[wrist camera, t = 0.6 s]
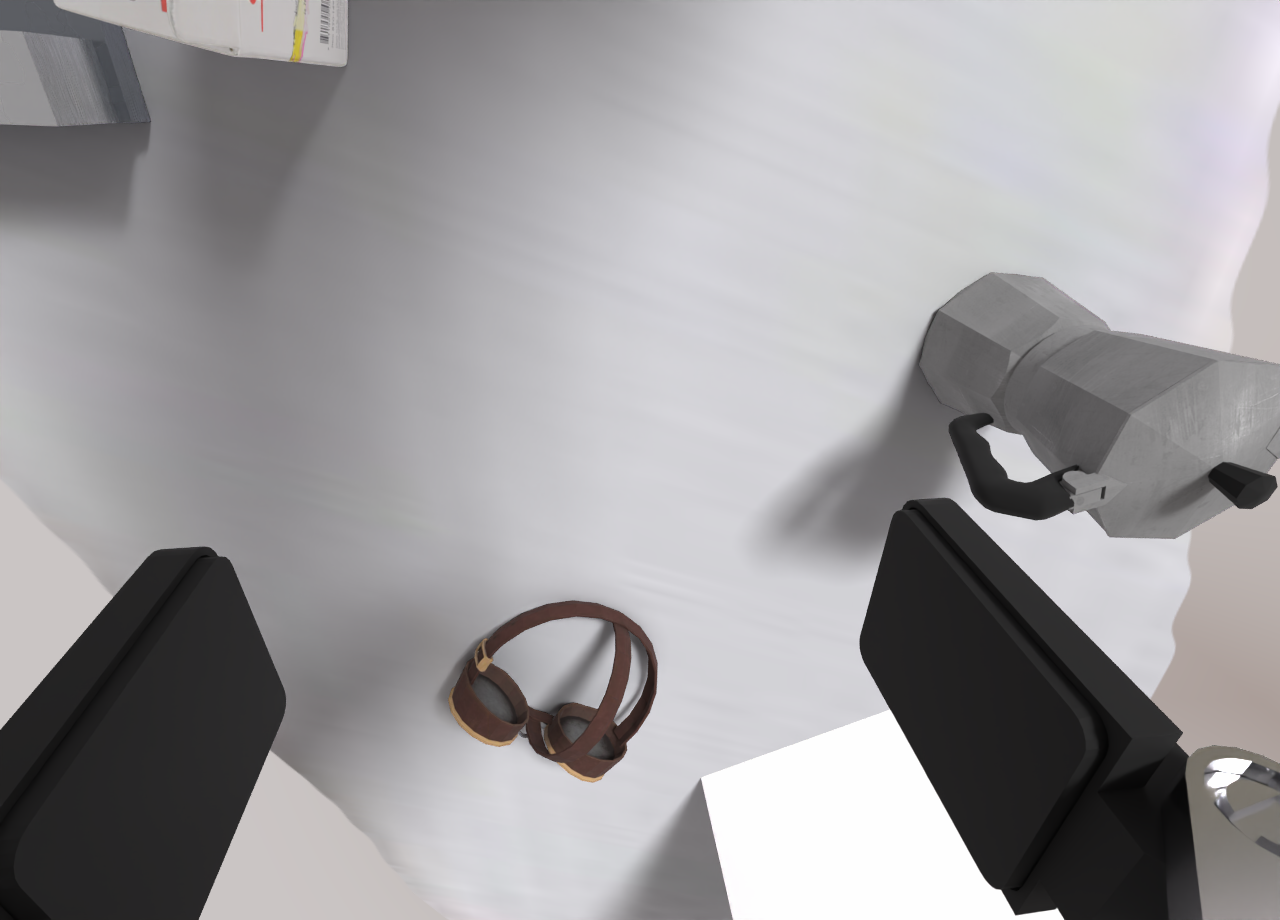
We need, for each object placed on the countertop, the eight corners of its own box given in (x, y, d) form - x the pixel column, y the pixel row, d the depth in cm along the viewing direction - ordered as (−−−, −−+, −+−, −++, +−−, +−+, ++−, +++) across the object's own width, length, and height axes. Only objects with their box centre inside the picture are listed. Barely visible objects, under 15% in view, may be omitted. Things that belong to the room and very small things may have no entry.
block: (1056, 650, 57) (1424, 1051, 33) (1057, 701, 61) (1386, 1091, 37) (700, 777, 60) (803, 1232, 36) (725, 818, 64) (832, 1250, 40)
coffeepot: (1095, 236, 37) (1481, 336, 22) (1078, 375, 42) (1385, 537, 27) (847, 313, 38) (1054, 464, 22) (859, 442, 43) (1037, 638, 27)
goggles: (436, 676, 48) (432, 778, 39) (534, 546, 47) (553, 621, 38) (591, 740, 55) (618, 841, 46) (681, 627, 53) (727, 708, 44)
